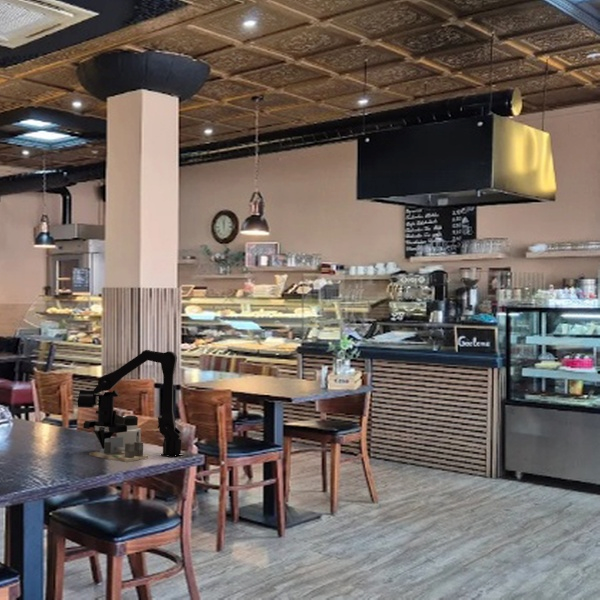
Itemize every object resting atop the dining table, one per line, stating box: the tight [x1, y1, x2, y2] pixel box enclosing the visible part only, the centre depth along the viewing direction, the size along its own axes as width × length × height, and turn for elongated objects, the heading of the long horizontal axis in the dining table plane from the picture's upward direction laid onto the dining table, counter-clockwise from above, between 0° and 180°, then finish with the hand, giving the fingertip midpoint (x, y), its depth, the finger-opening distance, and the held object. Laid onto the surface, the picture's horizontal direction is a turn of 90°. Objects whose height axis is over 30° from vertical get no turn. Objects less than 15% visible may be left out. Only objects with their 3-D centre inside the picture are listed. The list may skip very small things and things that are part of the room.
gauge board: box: [89, 442, 149, 463], centre depth 299 cm, size 20×11×6 cm, turn 55°
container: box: [116, 414, 142, 448], centre depth 319 cm, size 8×8×13 cm
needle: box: [104, 442, 111, 454], centre depth 296 cm, size 2×2×4 cm
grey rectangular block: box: [99, 436, 125, 454], centre depth 298 cm, size 8×9×6 cm
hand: (104, 449), depth 304 cm, fingers closed
